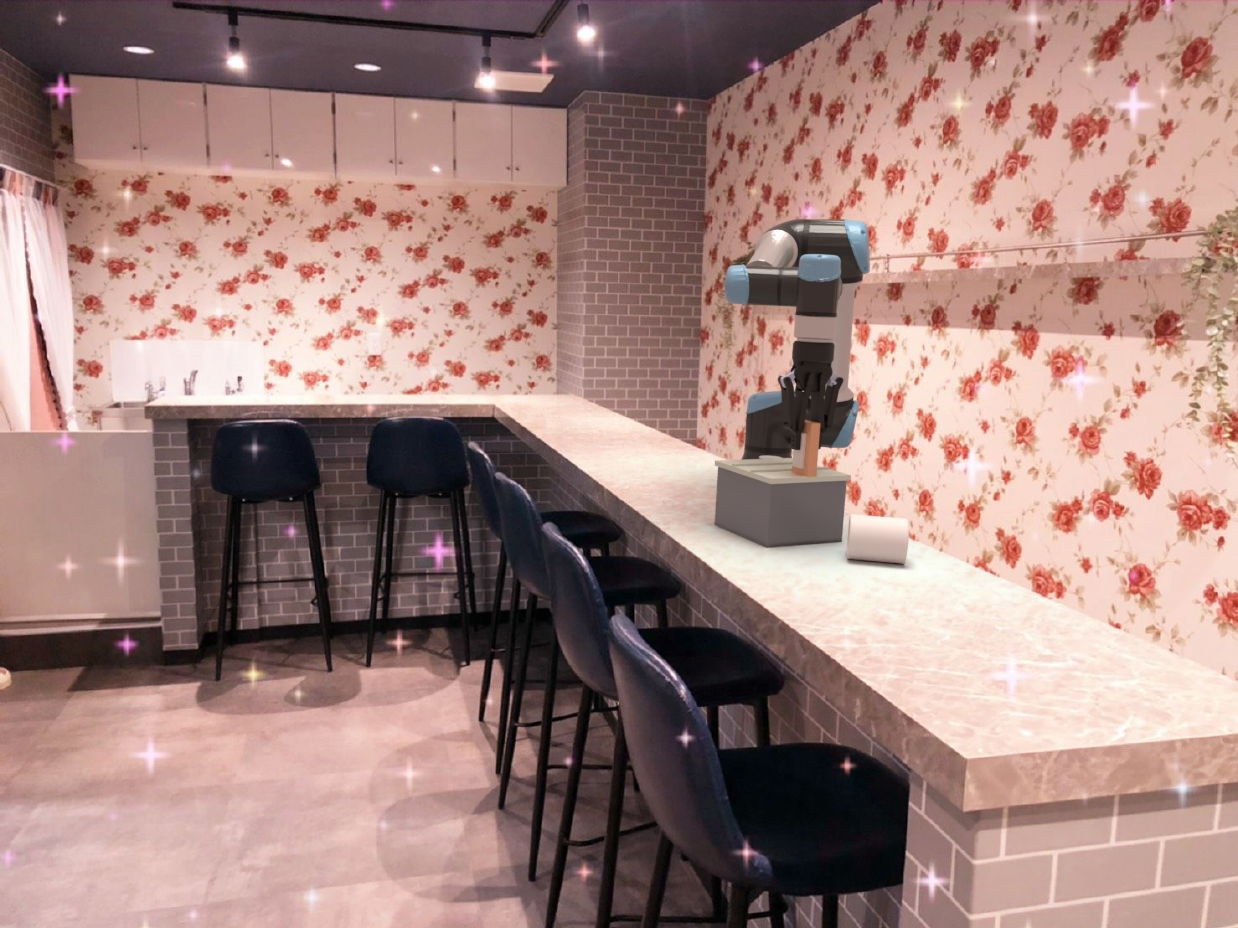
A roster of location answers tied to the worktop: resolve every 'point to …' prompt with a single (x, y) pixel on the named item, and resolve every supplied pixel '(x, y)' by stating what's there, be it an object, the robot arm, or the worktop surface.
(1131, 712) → the worktop surface
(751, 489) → the tub
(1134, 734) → the worktop surface
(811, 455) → the lid
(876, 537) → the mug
